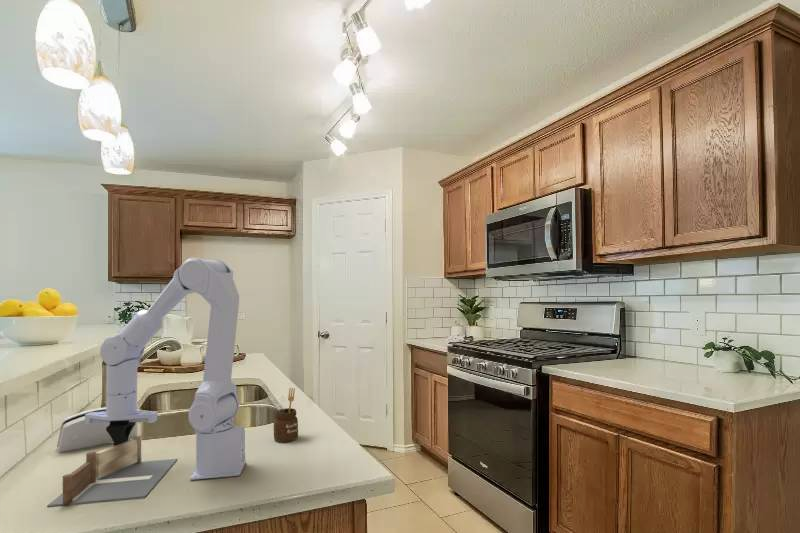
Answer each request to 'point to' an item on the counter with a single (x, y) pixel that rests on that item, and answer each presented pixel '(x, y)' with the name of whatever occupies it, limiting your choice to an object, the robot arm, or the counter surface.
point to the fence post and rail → (79, 479)
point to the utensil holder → (286, 422)
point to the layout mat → (122, 483)
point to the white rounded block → (84, 432)
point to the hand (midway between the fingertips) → (120, 456)
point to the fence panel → (118, 457)
